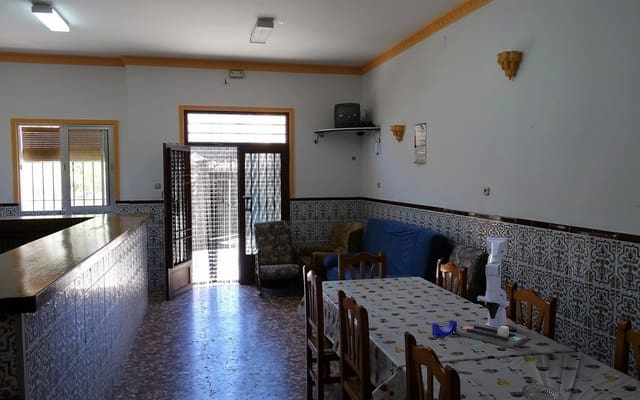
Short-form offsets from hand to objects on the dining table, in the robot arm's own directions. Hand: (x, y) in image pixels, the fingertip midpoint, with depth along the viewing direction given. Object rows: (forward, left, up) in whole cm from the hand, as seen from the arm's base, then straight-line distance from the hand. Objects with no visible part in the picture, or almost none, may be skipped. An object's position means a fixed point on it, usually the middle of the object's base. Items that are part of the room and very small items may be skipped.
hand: (492, 318), depth 232 cm
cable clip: (+11, -19, -9) cm, 24 cm away
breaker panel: (0, -1, -9) cm, 9 cm away
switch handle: (0, +5, -7) cm, 9 cm away
